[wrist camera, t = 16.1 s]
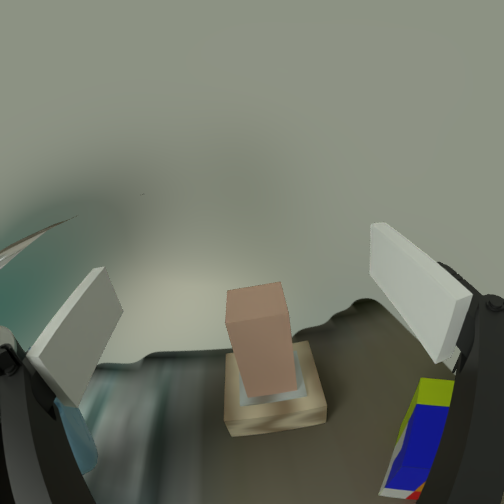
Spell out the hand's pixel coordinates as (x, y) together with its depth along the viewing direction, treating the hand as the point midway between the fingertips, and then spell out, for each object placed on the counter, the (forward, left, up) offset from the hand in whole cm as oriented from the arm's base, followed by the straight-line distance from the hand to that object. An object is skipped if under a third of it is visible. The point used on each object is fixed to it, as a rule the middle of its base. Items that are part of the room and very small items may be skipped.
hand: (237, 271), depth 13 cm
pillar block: (0, +13, -22) cm, 25 cm away
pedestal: (0, +13, -27) cm, 30 cm away
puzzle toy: (+16, -4, -27) cm, 32 cm away
